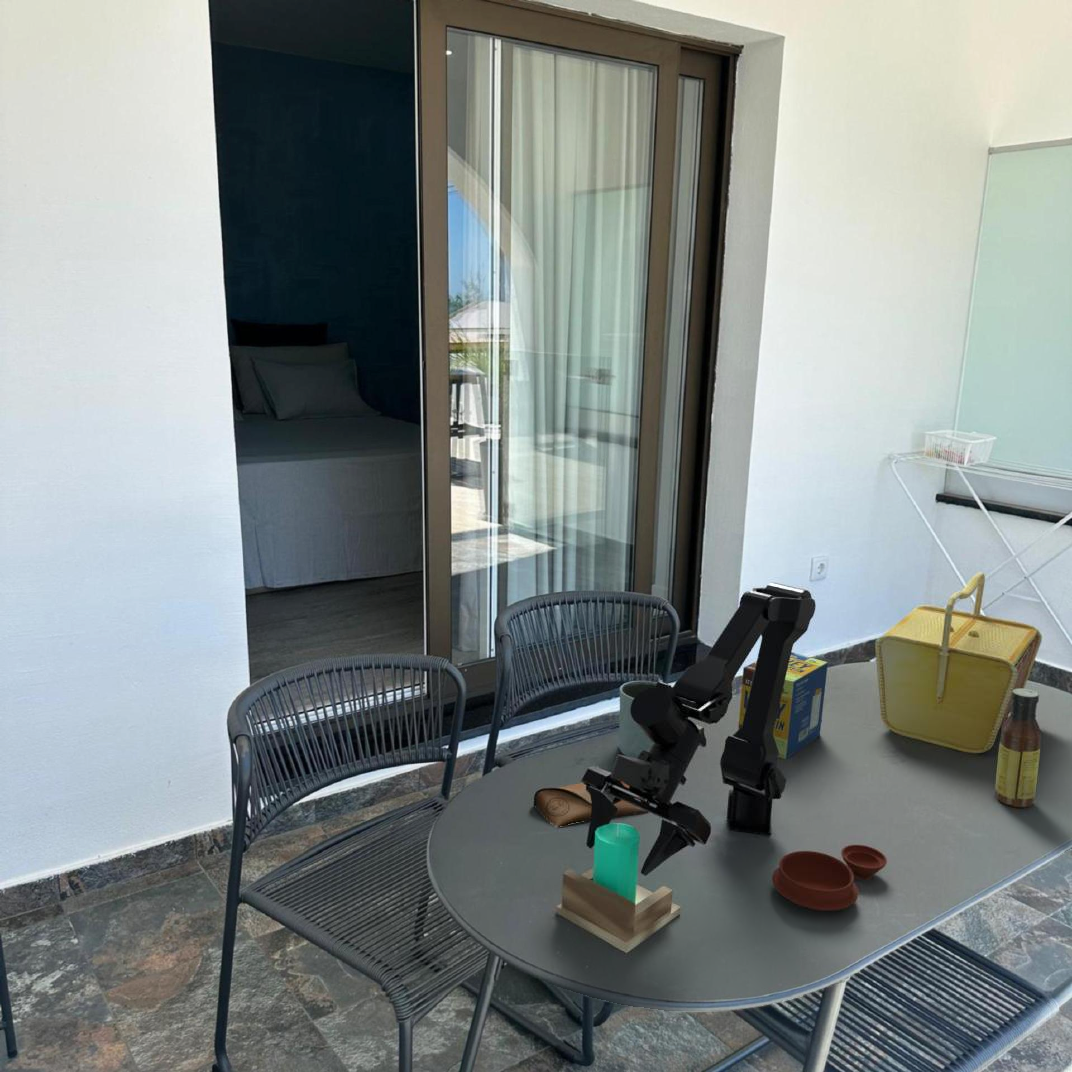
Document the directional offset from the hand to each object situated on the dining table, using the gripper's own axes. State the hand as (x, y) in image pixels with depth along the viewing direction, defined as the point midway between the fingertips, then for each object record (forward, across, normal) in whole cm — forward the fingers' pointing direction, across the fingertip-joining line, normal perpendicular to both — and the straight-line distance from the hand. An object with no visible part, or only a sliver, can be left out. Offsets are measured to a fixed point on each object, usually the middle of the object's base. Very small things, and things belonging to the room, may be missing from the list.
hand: (615, 860), depth 129 cm
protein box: (-42, -13, +55) cm, 70 cm away
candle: (+4, -1, +7) cm, 8 cm away
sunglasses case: (-8, -21, +22) cm, 31 cm away
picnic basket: (-65, +8, +78) cm, 102 cm away
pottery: (-14, +18, +26) cm, 35 cm away
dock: (+5, 0, +7) cm, 9 cm away
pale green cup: (-26, -28, +38) cm, 54 cm away
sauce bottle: (-47, +28, +60) cm, 81 cm away
